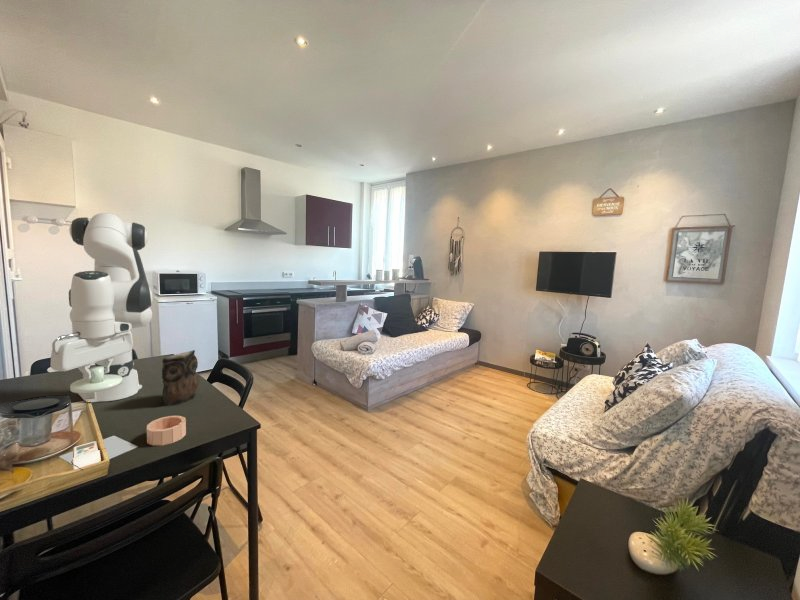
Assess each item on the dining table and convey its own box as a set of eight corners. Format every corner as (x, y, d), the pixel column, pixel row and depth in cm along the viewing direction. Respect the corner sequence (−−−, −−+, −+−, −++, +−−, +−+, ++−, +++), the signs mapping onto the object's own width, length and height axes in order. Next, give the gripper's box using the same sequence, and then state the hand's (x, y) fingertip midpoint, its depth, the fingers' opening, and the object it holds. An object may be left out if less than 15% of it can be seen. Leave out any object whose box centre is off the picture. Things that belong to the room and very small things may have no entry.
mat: (58, 457, 92) (58, 456, 91) (113, 436, 103) (113, 435, 103) (83, 471, 87) (83, 470, 86) (138, 447, 98) (138, 446, 98)
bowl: (139, 440, 102) (139, 426, 101) (173, 426, 111) (172, 413, 111) (159, 449, 98) (159, 434, 98) (192, 434, 107) (192, 420, 107)
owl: (200, 392, 140) (199, 348, 138) (193, 405, 128) (193, 356, 126) (165, 395, 135) (164, 349, 133) (155, 408, 123) (154, 358, 121)
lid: (65, 385, 91) (64, 368, 91) (115, 375, 100) (114, 359, 100) (76, 396, 85) (75, 378, 85) (128, 385, 94) (127, 368, 94)
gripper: (64, 338, 80) (67, 391, 82) (136, 323, 101) (137, 365, 102) (40, 336, 81) (44, 388, 82) (117, 321, 101) (119, 363, 103)
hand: (96, 375), depth 93 cm, fingers closed on lid, 3 cm apart
